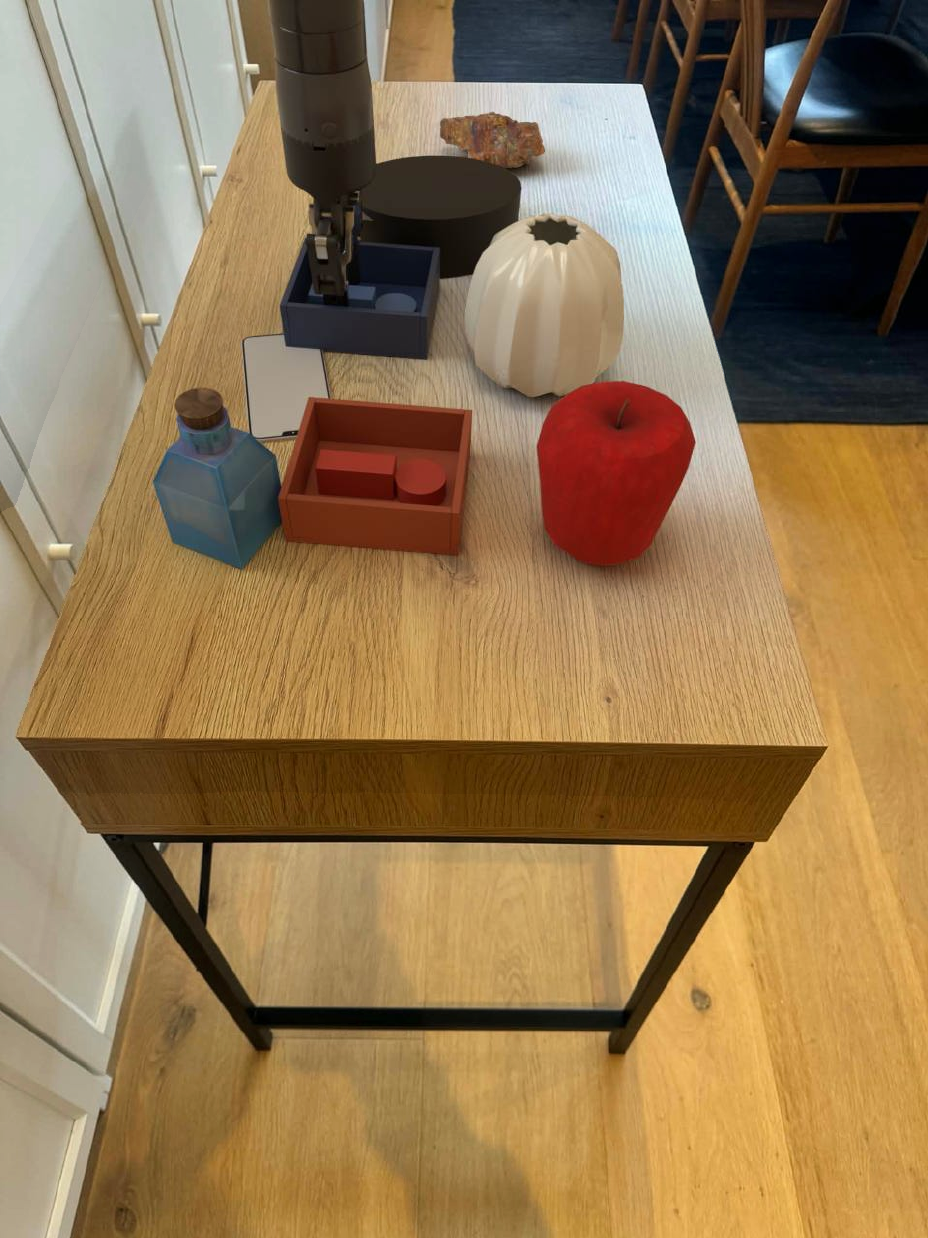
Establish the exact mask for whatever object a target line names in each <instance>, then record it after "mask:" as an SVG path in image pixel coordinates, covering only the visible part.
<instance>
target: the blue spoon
mask: <svg viewBox="0 0 928 1238" xmlns="http://www.w3.org/2000/svg"><path fill="white" fill-rule="evenodd" d="M348 294H349V306H350V307H354V308H367V309H380V310H393V311H406V312H417V303H416V301H415V300H414V299H413V298H412V297H410V296H408V295H405V294H401V293H390V294H386V295H383V296H381V297H379V298H378V299H377V300H376V287H367V286H354V285H349V287H348ZM308 298H309V304H316V305H324V299H323V294H321V295H319V294H315V292H314V289H313V283H312V286H311V288H310V291H309V294H308Z"/></svg>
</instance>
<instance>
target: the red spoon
mask: <svg viewBox="0 0 928 1238" xmlns="http://www.w3.org/2000/svg"><path fill="white" fill-rule="evenodd" d="M315 470H316V477H317V485H318V493H319V494H325V495H338V496H350V497H362V498H374V499H386V500H394V497H395V492H396V498H397V500H398V501H399V502H400V503H406V504H418V505H430V506H438V505H440V504H441V503H442V502H443V500H444V499H445V496H446V473H445V471H444V469H443V468H442V467H441V466H440V465H439V464H437V463H436V462H433V461H430V460H425V459H415V460H411V461H408V462H406V463H404V464H402V465H401V466H400V467H399V468H398V469H397V458H396V455H385V454H373V453H360V452H348V451H336V450H323V449H321V450H320V452H319V456H318V460H317V463H316V467H315Z"/></svg>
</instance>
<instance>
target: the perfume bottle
mask: <svg viewBox="0 0 928 1238" xmlns="http://www.w3.org/2000/svg"><path fill="white" fill-rule="evenodd" d="M173 406H174V410H175V411H176V413H177V414H176V419H175V421H176V425H177V428H178V433H179V438H178V439H176V440H175V442H173V443H172V444H171V445H170V446H169V447H168V448H167V449H166V451H165V453H164V456H163V458H162V459H161V462H160V464H159V466H158V469H157V471H156V473H155V474H154V477H153V479H152V484H153V488H154V491H155V493H156V496H157V500H158V502H159V506H160V508H161V512H162V515H163V518H164V521H165V523H166V527H167V530H168V533H169V537H170V539H171V543H173V544H176V545H179V546H180V547H184V548H186V549H189V550H191V551H193V552H195V553H196V552H197V553H198V554H201V555H204V556H206V557H209V558H211V559H214V560H217V561H218V562H222V563H224V564H227V565H229V566H231V567H235V568H236V569H239V570H243V569H244V567H246V565H247V564H248V563H249V562H250V561H251V559H252V558H253V557H254V556H255V555H256V553H258V552H259V550H260V549H261V548H262V546H263V545H264V544H265V542H266V541H267V540H268V539H269V538H271V536H272V534H273V533H274V532H275V531H276V530H277V528H278V527H279V526H280V525H281V524H282V518H281V512H280V507H279V502H278V496H279V493H280V490H281V487H282V482H281V477H280V470H279V466H278V460H277V455H276V454H275V453H273V452H272V450H270V449H269V448H268V447H267V446H265V445H264V443H260V442H259V441H258V440H257V439H256V438H254V437H253V436H252V435H251V434H250V433H249V432H247V431H245V430H242V429H238V428H236V427H233V426H232V423H231V420H230V415H229V411H228V409H227V408H226V407H225V406H224V398H223V396H222V394H221V393H220V392H219V391H217V390H215V389H213V388H209V387H195V388H190V389H187V390H185V391H182V393H180V394H179V395H178V396H177V397H176V399H174V404H173Z"/></svg>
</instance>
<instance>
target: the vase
mask: <svg viewBox="0 0 928 1238" xmlns="http://www.w3.org/2000/svg"><path fill="white" fill-rule="evenodd" d="M624 299H625V298H624V289H623V283H622V267H621V262H620V259H619V255H618V252H617V250H616V249H615V247H613V246H612V245H611V243H609V241H607V239H605V238H604V237H603V236H602V235H601V234H600V233H598V232H597V231H596V230H595V229H593V228H592V227H591V226H590V225H588V224H587V223H585V222H582V221H580V220H579V219H577V218H575V217H573V216H570V215H567V214H565V215H564V214H563V215H557V214H555V213H552V212H550V213H549V212H547V213H543V214H539V215H530V216H527V217H526V218H521V219H520V220H518V222H515V223H513V224H512V225H510V226H508V227H506V228H505V229H503V230H501V231H500V232H498V233H496V234H495V235H494V237H493V239H492V241H491V243H490V245H489V247H488V248H487V249H486V250H485V251H484V252H483V253H482V255H481V257H480V259H479V261H478V263H477V265H476V267H475V270H474V273H473V274H472V277H471V279H470V285H469V288H468V293H467V296H466V302H465V303H466V304H465V307H464V308H465V309H464V325H463V326H464V327H463V328H464V333H465V334H464V335H465V340H466V342H467V343H468V345H469V347H470V348H471V350H472V352H473V353H474V361H475V362H474V363H475V365H476V366H477V367H478V368H479V369H480V370H481V371H482V372H483V373H484V374H485V375H486V376H488V377H489V378H490V379H491V380H492V381H493V382H494V383H496V385H498V386H499V387H501V388H507V389H508V388H513V389H515V390H517V391H518V392H520V393H522V394H523V395H524V396H526V397H529V398H535V397H539V396H542V395H546V394H549V393H551V394H554V395H556V396H558V397H564V396H565V395H567V394H569V393H570V392H572V391H574V390H575V389H577V388H579V387H580V386H584V385H589V384H593V383H595V381H596V379H597V378H598V377H599V376H600V375H601V374H602V373H604V372H605V371H606V370H607V369H608V368H609V367H610V366H612V365H613V364H614V363H615V362H616V360H617V358H618V356H619V353H620V351H621V347H622V341H623V336H624V323H625V303H624V302H625V300H624Z"/></svg>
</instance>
